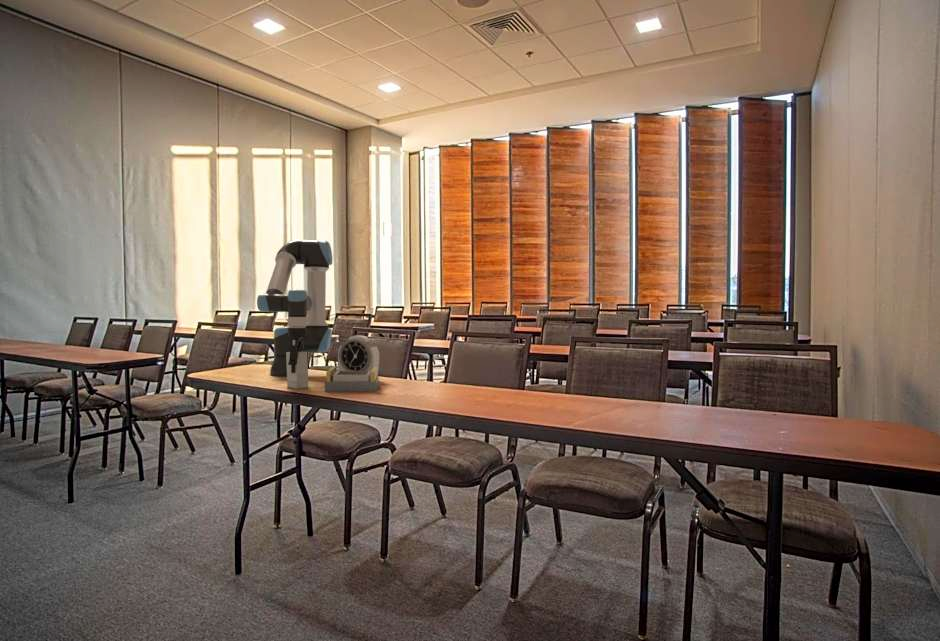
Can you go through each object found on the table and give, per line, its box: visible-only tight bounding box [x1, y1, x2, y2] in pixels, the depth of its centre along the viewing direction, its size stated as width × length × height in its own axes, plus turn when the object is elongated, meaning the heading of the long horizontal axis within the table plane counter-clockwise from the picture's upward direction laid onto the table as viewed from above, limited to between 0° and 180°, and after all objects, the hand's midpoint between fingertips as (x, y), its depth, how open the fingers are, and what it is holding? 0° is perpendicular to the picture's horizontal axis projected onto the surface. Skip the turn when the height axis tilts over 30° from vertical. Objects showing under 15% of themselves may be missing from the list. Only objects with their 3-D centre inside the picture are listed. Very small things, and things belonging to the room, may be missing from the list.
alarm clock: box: [337, 335, 380, 375], centre depth 258 cm, size 18×8×20 cm, turn 73°
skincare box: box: [286, 352, 309, 390], centre depth 235 cm, size 8×6×15 cm
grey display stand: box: [324, 366, 379, 393], centre depth 235 cm, size 16×20×9 cm
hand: (297, 378), depth 235 cm, fingers open, 13 cm apart
